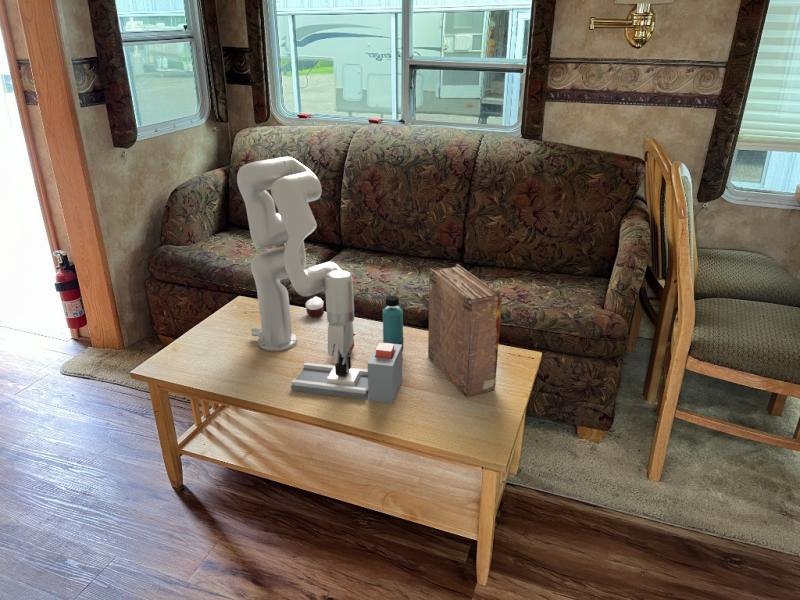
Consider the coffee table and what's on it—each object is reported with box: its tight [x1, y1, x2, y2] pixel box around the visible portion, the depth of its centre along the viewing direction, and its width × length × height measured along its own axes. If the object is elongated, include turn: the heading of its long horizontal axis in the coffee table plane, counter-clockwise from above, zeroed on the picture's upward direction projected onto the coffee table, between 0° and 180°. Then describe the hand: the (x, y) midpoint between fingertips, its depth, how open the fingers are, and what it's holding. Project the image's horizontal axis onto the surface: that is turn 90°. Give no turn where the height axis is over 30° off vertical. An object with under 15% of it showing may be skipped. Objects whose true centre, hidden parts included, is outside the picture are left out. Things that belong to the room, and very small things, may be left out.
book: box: [427, 263, 503, 398], centre depth 180 cm, size 25×9×30 cm, turn 24°
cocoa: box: [305, 295, 325, 318], centre depth 220 cm, size 10×6×12 cm, turn 26°
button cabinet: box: [367, 341, 403, 404], centre depth 176 cm, size 7×12×12 cm, turn 167°
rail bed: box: [290, 362, 369, 401], centre depth 181 cm, size 22×12×3 cm, turn 77°
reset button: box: [376, 342, 394, 359], centre depth 173 cm, size 4×4×4 cm
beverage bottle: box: [382, 295, 405, 353], centre depth 192 cm, size 6×7×20 cm
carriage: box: [327, 352, 360, 387], centre depth 178 cm, size 8×6×9 cm
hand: (343, 371), depth 179 cm, fingers closed on carriage, 3 cm apart
